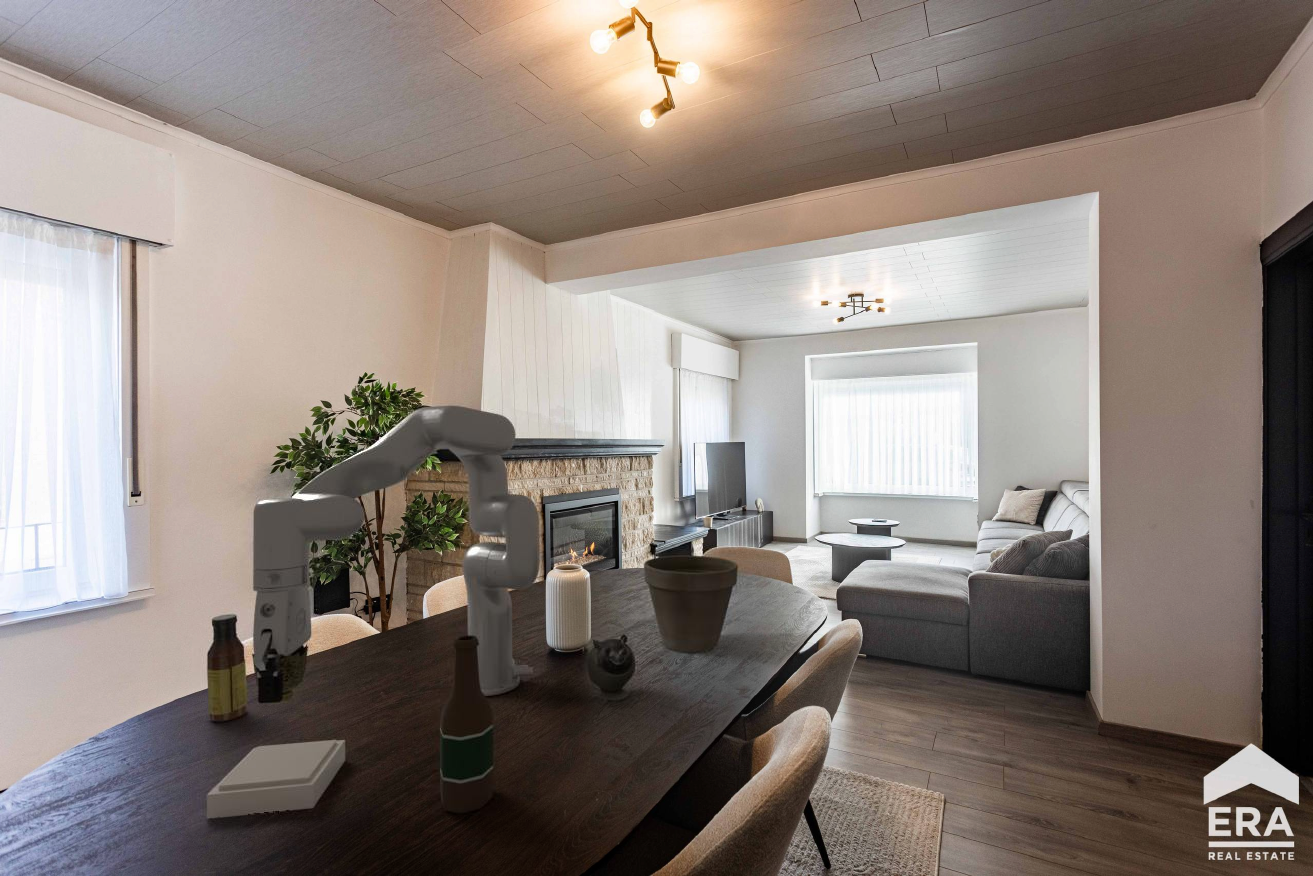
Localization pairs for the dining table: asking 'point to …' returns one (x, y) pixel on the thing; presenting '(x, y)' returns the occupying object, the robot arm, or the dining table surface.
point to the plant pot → (690, 599)
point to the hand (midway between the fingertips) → (281, 691)
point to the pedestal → (277, 779)
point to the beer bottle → (466, 736)
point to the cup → (290, 671)
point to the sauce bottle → (226, 671)
